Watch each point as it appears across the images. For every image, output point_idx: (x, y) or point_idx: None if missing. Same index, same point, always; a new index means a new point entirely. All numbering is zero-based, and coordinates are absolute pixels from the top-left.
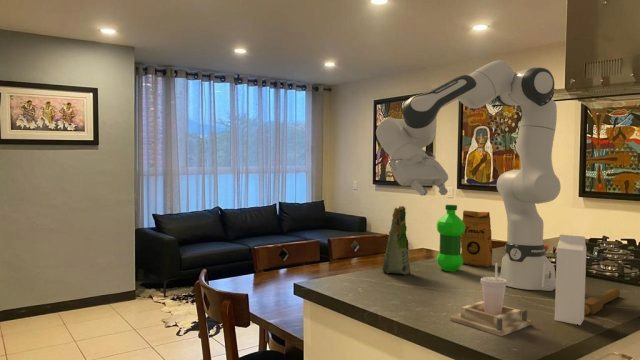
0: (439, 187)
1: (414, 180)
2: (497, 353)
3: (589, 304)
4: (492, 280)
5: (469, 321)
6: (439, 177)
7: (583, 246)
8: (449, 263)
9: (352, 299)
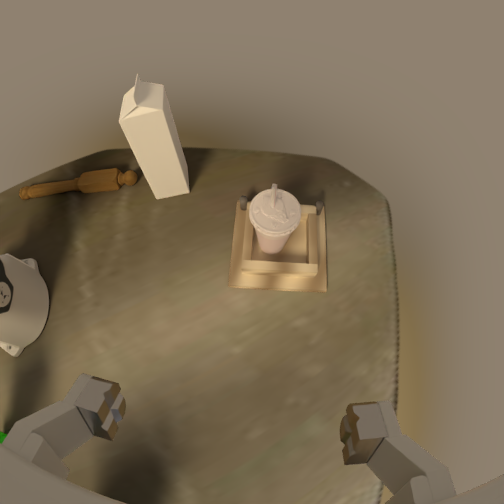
0: (63, 451)
1: (453, 489)
2: (375, 190)
3: (118, 172)
4: (284, 207)
5: (322, 256)
6: (22, 462)
7: (152, 83)
8: None
9: (363, 477)
